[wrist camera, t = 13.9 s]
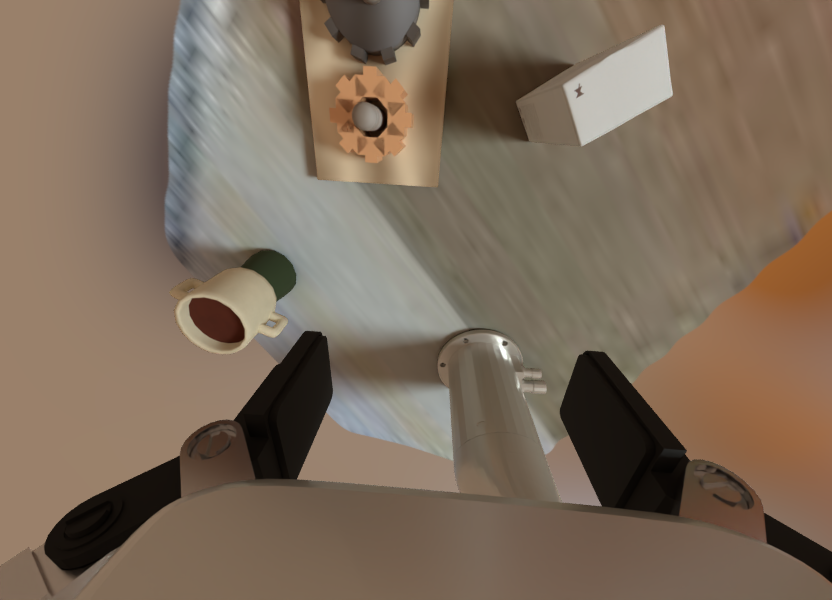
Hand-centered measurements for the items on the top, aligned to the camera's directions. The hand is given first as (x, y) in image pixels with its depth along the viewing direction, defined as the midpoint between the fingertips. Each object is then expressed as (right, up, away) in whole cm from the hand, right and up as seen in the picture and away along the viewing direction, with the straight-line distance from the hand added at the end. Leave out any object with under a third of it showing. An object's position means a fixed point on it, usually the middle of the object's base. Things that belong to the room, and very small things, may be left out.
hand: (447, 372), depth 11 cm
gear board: (-5, +25, +17) cm, 30 cm away
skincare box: (+12, +22, +18) cm, 31 cm away
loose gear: (-5, +20, +18) cm, 28 cm away
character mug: (-20, +7, +28) cm, 35 cm away
